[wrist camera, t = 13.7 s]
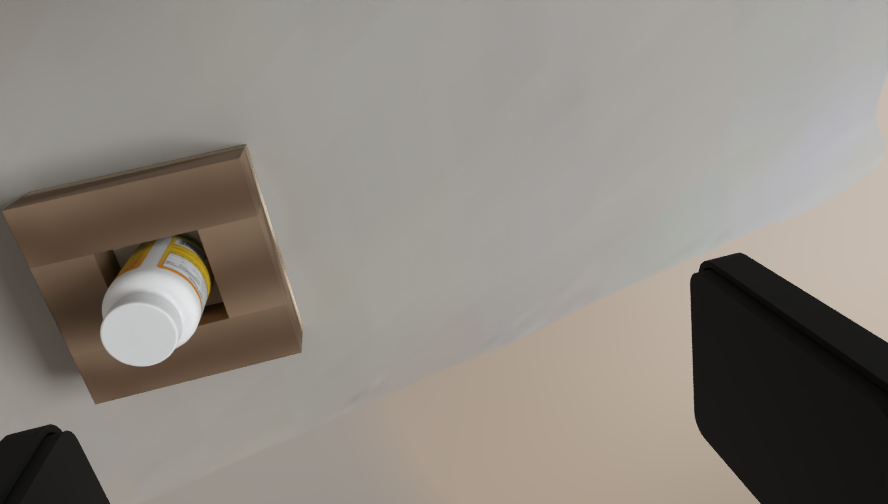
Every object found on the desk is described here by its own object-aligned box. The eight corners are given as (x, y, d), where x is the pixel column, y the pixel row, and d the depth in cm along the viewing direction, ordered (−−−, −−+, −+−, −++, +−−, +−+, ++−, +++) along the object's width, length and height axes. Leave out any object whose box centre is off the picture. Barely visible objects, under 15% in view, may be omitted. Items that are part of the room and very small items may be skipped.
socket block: (29, 192, 42) (1, 211, 38) (246, 144, 43) (239, 158, 39) (112, 372, 47) (95, 404, 44) (302, 325, 49) (301, 352, 45)
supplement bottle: (137, 304, 45) (92, 381, 36) (127, 230, 43) (77, 292, 34) (219, 301, 46) (195, 375, 37) (213, 229, 44) (186, 289, 35)
